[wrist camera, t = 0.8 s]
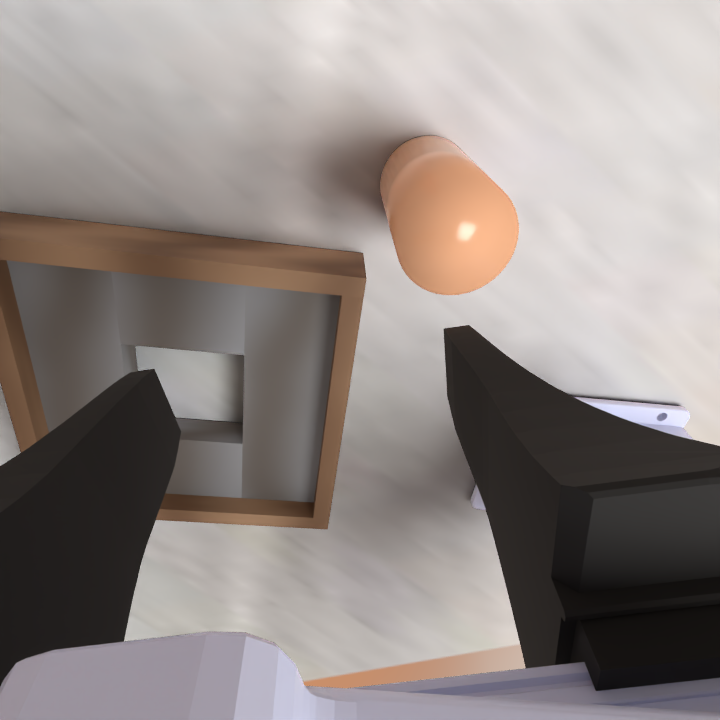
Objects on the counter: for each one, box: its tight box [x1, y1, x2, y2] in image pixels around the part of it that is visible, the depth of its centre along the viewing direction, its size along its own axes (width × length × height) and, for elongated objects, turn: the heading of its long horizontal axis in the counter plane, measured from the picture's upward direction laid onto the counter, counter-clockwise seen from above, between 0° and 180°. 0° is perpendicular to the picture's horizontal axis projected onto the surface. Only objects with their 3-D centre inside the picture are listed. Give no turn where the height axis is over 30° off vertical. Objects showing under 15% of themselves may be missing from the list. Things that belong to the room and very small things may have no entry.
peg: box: [380, 135, 519, 295], centre depth 17 cm, size 4×4×6 cm
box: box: [0, 212, 366, 529], centre depth 23 cm, size 14×14×2 cm
